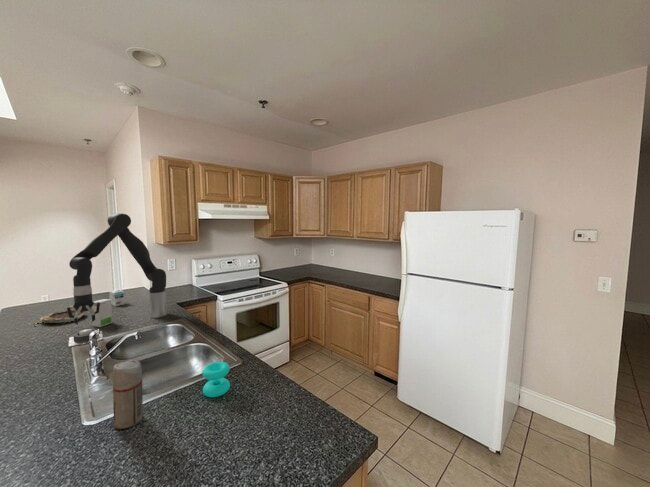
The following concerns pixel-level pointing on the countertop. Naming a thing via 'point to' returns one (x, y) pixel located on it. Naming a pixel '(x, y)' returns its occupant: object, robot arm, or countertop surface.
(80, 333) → the cap
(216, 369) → the teal spool
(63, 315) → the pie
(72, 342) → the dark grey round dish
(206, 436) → the countertop surface
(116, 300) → the light bulb box
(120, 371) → the brown cylinder
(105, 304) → the skincare box
